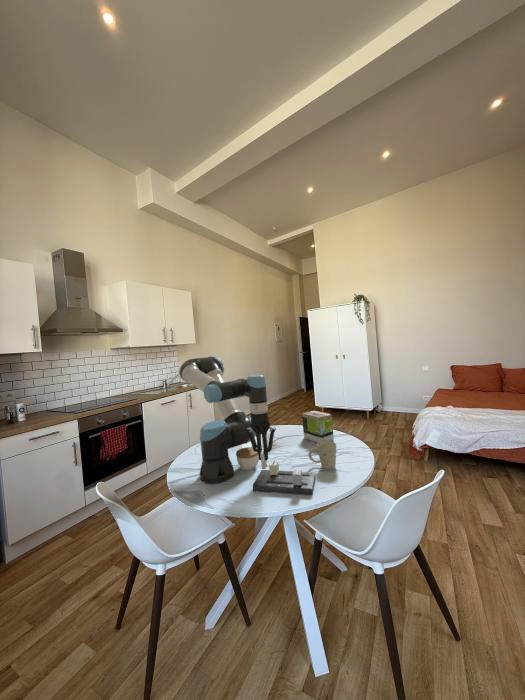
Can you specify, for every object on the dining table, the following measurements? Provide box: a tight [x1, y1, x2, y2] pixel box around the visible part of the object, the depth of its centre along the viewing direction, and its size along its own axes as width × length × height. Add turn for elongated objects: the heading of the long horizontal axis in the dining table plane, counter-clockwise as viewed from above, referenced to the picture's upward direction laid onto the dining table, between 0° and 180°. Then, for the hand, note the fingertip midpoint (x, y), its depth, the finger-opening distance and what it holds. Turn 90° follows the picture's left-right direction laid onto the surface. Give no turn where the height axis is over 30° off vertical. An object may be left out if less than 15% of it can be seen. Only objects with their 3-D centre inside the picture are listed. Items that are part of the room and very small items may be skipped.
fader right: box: [293, 469, 303, 485], centre depth 107 cm, size 3×4×4 cm
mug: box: [308, 441, 337, 471], centre depth 125 cm, size 8×13×10 cm, turn 78°
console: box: [252, 469, 316, 496], centre depth 112 cm, size 23×13×3 cm, turn 74°
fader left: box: [268, 460, 280, 475], centre depth 117 cm, size 3×4×4 cm
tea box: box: [301, 410, 335, 444], centre depth 160 cm, size 15×10×15 cm, turn 32°
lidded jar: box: [235, 446, 260, 471], centre depth 130 cm, size 11×11×9 cm
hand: (264, 467), depth 118 cm, fingers closed
